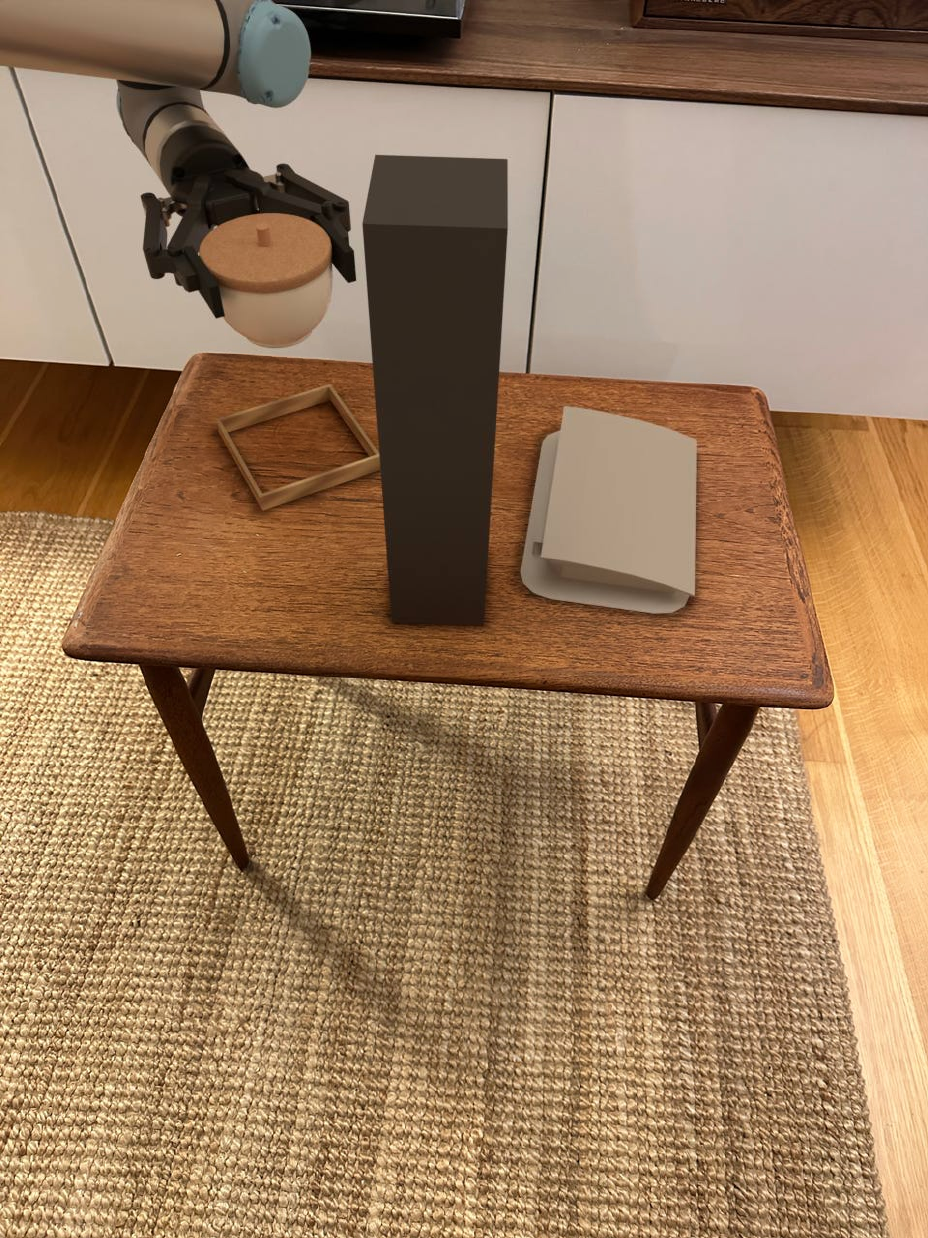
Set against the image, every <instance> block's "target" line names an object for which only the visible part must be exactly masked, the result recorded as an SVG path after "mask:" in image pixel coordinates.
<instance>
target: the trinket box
mask: <svg viewBox="0 0 928 1238" xmlns="http://www.w3.org/2000/svg"><path fill="white" fill-rule="evenodd" d="M198 255H199V256H200V258H201V260H202V261H203V263H204V264H205V266H206V267H207V269H208V270H209V272H210V273H211V275H212V276H213V278H214V279H215V281H216V282H217V284H218V286H219V290H220V295H221V299H222V304H223V309H224V314H225V316H224V317H222V318H223V320H224V321H225V323H227V324H228V325H229V326H230V327H231V329H233V331H235V332H237V333H238V334H240V335H241V336H243V337H245V338H246V340H248V341H249V342H251V343H252V344H253V345H256V346H258V347H261V348H265V349H285V348H290V347H294V346H297V345H298V344H301V343H302V342H304V341H305V340H307V339H308V338H309V337H310V336H311V334H312V333H313V332H314V330H315V329H316V328H317V327H318V325H320V323H321V322H322V320H323V319H324V317H325V315H326V314H327V312H328V309H329V305H330V303H331V300H332V293H333V279H334V273H333V264H332V245H331V240H330V238H329V236H328V234H327V233H326V232H325V231H324V229H323V228H321V227H320V226H319V225H317V224H316V223H314V222H312V221H310V220H307V219H305V218H302V217H298V216H294V215H288V214H279V213H264V214H254V215H248V216H243V217H239V218H236V219H233V220H230V221H228V222H225V223H223V224H221V225H219V226H218V227H217V226H215V227H214V229H213V230H212V231H211V232H209V233H208V234H207V236H206V237H205V238H204V240H203V241H202V243H201V245H200V249H199V253H198Z"/></svg>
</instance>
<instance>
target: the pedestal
mask: <svg viewBox="0 0 928 1238" xmlns="http://www.w3.org/2000/svg"><path fill="white" fill-rule="evenodd" d="M508 161H509V160H508V158H488V157H487V158H485V157H457V156H455V157H454V156H430V155H429V156H427V155H426V156H425V155H395V154H393V155H392V154H375V155H374V159H373V163H372V169H371V170H372V171H371V175H370V181H369V186H368V192H367V196H366V202H365V208H364V212H363V217H362V222H361V223H362V225H361V226H362V235H363V236H362V237H363V251H364V252H363V253H364V266H365V278H366V292H367V293H366V294H367V305H368V306H367V307H368V320H369V332H370V333H369V335H370V346H371V347H370V348H371V360H372V361H371V362H372V373H373V374H372V375H373V387H374V398H375V399H374V401H375V414H376V427H377V428H376V429H377V442H378V452H379V457H380V470H379V471H380V483H381V493H382V494H381V497H382V511H383V523H384V524H383V525H384V535H385V536H384V537H385V538H384V539H385V550H386V551H385V552H386V561H387V562H386V564H387V578H388V592H389V605H390V619H391V623H393V624H417V625H418V624H419V625H444V626H445V625H446V626H447V625H448V626H474V627H475V626H476V627H484V626H485V620H486V619H485V616H486V615H485V614H486V601H487V600H486V599H487V585H488V568H489V567H488V566H489V551H490V536H491V535H490V533H491V519H492V516H491V515H492V503H493V502H492V500H493V485H494V484H493V483H494V466H495V449H496V434H497V416H498V400H499V399H498V398H499V384H500V383H499V381H500V365H501V348H502V335H503V334H502V333H503V331H502V330H503V318H504V317H503V316H504V315H503V314H504V297H505V281H506V268H507V267H506V266H507V265H506V264H507V250H508V249H507V248H508V233H509V232H508V230H509V193H508V192H509V189H508V188H509V177H508V176H509V175H508V173H509V172H508V171H509V168H508V167H509V165H508V164H509V163H508Z"/></svg>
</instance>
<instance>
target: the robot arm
mask: <svg viewBox="0 0 928 1238" xmlns="http://www.w3.org/2000/svg"><path fill="white" fill-rule="evenodd" d="M311 59H312V49H311V42H310V37H309V34H308V31H307V29H306V27H305V25H304V23H303V21H302V20H301V19H300V17H299V16H298V15H297V14H296V13H295V12H294V11H292V10H290V9H289V8H287V7H284V6H282V5H280V4H277V3H275V2H274V1H273V0H0V67H9V68H16V69H24V70H33V71H42V72H49V73H59V74H66V75H67V74H68V75H76V76H84V77H92V78H93V77H94V78H100V79H109V80H116V84H117V91H116V109H117V113H118V115H119V118H120V120H121V123H122V124H121V125H122V127H123V128H124V131H125V133H126V135H127V136H128V137H129V138H130V140H131V142H132V143H133V144H134V145H135V146H136V148H137V149H138V150H139V151H140V153H141V154H142V156H143V157H144V159H145V160H146V161H147V163H148V165H149V166H150V167H151V169H152V171H153V172H154V174H155V175H156V177H157V178H158V180H159V181H160V182H161V184H162V185H163V187H164V188H165V190H166V192H167V193H168V195H169V197H157V196H156V194H155V193H153V192H144V193H142V194H141V195H140V201H141V203H142V208H143V211H144V215H145V219H144V232H143V243H142V251H143V254H144V258H145V263H146V265H147V269H148V273H149V276H150V278H151V279H153V280H160V279H163V278H164V277H165V275H166V274H173V277H174V281H175V284H176V286H178V287H182V288H183V289H184V291H185V292H187V293H194V292H197V291H198V293H199V295H200V296H201V297H202V299H203V300H204V303H205V304H206V305H207V307H208V308H209V310H210V312H211V313H212V315H213V317H214V318H215V319H216V320H218V319H221V318H223V317H224V316H225V314H224V309H223V304H222V299H221V295H220V290H219V286H218V284H217V282H216V281H215V279H214V278H213V276H212V275H211V273H210V272H209V270H208V269H207V267H206V266H205V264H204V263H203V261H202V260H201V258H200V256H199V249H200V245H201V243H202V241H203V240H204V238H205V237H206V236H207V234H208V233H209V232H211V231H212V230H213V229H215V228H216V227H218V226H219V225H221V224H223V223H225V222H228V221H230V220H233V219H236V218H239V217H243V216H248V215H254V214H264V213H279V214H288V215H294V216H298V217H302V218H305V219H307V220H310V221H312V222H314V223H316V224H317V225H319V226H320V227H321V228H323V229H324V231H325V232H326V233H327V234H328V236H329V238H330V240H331V245H332V266H333V267H334V268H335V269H336V270H337V271H338V273H339V274H340V276H341V277H342V278H343V279H344V280H345V282H347V283H348V284H350V283H354V282H357V272H356V259H355V250H354V249H353V247H352V246H351V245H350V238H349V237H350V235H349V232H351V230H352V225H351V212H350V211H351V210H350V202H349V200H347V199H345V198H344V197H342V196H339V195H338V194H336V193H334V192H332V191H331V190H329V189H326V188H324V187H322V186H320V185H319V184H317V183H315V182H313V181H311V180H309V179H307V178H306V177H303V176H301V175H300V174H298V173H297V172H295V171H294V169H293V168H292V167H291V166H290V165H289V164H288V163H279V164H277V165H276V167H275V168H276V172H275V173H274V174H270V175H264V176H263V175H262V174H261V173H259V172H258V171H255V170H252V169H251V168H250V166H249V164H248V162H247V161H246V159H245V158H244V156H243V155H242V154H241V152H240V151H239V150H238V148H237V147H236V146H235V145H234V143H233V142H232V141H231V140H230V139H229V137H228V136H227V135H226V133H225V132H224V131H223V129H222V128H220V126H219V125H218V124H217V123H216V122H215V120H214V119H213V118H212V117H211V115H210V114H209V113H208V111H207V110H206V108H205V106H204V103H203V97H202V93H201V91H202V92H209V93H218V94H225V95H231V96H235V97H239V98H242V99H245V100H246V101H247V102H248V103H250V104H252V105H261V106H264V107H268V108H272V109H278V108H279V109H281V108H284V107H286V106H288V105H290V104H291V103H293V102H294V101H295V100H297V98H298V97H299V95H300V94H301V93H302V91H303V90H304V88H305V86H306V83H307V81H308V77H309V75H310V71H309V70H310V69H309V68H310V66H311ZM174 213H176V214H177V216H179V217H181V219H180V221H179V223H178V225H177V227H176V229H175V231H174V232H173V234H172V236H171V238H170V240H169V242H168V229H167V228H168V227H170V226H171V222H170V220H171V219H172V218H173V217H172V216H173V214H174Z"/></svg>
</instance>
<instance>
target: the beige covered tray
mask: <svg viewBox="0 0 928 1238" xmlns="http://www.w3.org/2000/svg"><path fill="white" fill-rule="evenodd" d="M697 453H698V440H697V439H696V438H693V437H690V436H689V435H686V434H684V433H681V432H680V431H679V432H678V431H676V430H675V429H672V428H670V427H669V428H668V427H665V426H662V425H659V424H655V423H652V422H648V421H645V420H642V419H637V418H632V417H629V416H624V415H621V414H615V413H610V412H605V411H599V410H595V409H589V408H584V407H577V406H576V407H575V406H568V405H563V411H562V418H561V423H560V429H559V430H557V431H554V432H551V433H550V434H547V435H546V437H545V438H544V440H543V441H542V444H541V448H540V454H539V460H538V465H537V470H536V471H537V472H536V476H535V477H536V478H535V484H534V490H533V495H532V501H531V507H530V514H529V517H528V525H527V531H526V537H525V542H524V548H523V554H522V558H521V559H522V560H521V565H520V571H519V573H520V576H521V582H522V585H524V587H526V588H527V589H528V590H529V591H530V592H531V593H533V594H534V595H537V596H540V597H543V598H546V599H549V600H552V601H553V600H554V601H559V602H560V601H562V602H569V603H575V604H581V605H589V606H597V607H602V608H609V609H610V608H611V609H618V610H625V611H632V612H639V613H646V614H653V615H656V614H657V615H658V614H659V615H660V614H661V615H662V614H673V613H675V612H677V611H679V610H681V609H682V608H684V607H685V606H686V605H687V602H688V600H689V597H690V596H692V597H695V596H696V545H697V544H696V539H697V538H696V537H697V534H696V533H697V532H696V531H697V529H696V528H697V458H698V454H697Z"/></svg>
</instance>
